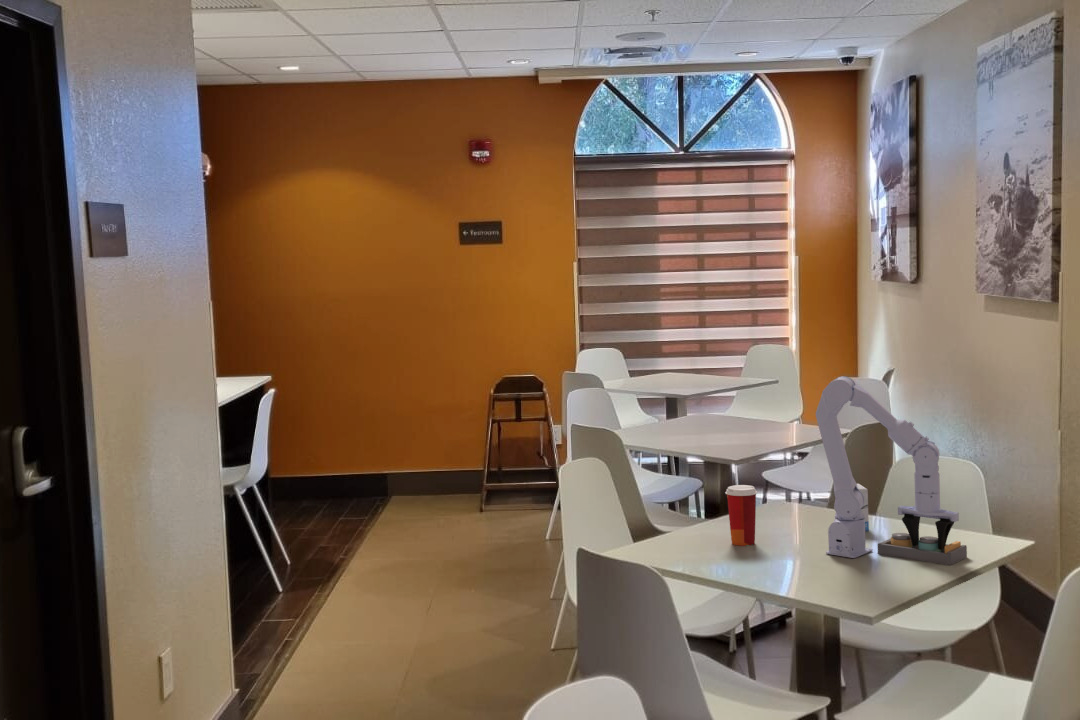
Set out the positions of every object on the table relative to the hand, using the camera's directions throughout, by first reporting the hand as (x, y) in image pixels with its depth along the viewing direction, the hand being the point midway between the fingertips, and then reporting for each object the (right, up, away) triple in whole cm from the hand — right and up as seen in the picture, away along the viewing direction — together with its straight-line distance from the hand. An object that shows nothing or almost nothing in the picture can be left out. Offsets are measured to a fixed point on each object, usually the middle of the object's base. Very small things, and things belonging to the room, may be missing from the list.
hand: (928, 546), depth 247 cm
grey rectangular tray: (-1, -2, +2) cm, 3 cm away
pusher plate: (+4, -3, -4) cm, 6 cm away
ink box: (-7, -1, +33) cm, 34 cm away
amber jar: (-5, -2, +5) cm, 7 cm away
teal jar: (0, -3, 0) cm, 3 cm away
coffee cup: (-41, -3, +22) cm, 47 cm away
